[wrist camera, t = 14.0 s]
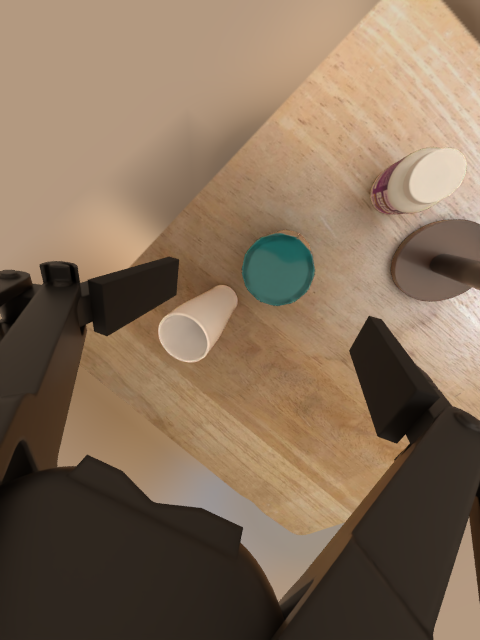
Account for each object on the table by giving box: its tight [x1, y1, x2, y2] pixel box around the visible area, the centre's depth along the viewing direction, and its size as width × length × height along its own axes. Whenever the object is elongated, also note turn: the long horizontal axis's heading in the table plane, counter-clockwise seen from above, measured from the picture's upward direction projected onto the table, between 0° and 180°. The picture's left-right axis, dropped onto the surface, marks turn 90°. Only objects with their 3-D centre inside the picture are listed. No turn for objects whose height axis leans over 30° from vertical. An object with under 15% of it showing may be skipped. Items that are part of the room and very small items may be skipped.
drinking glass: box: [158, 285, 238, 362], centre depth 32 cm, size 7×7×15 cm
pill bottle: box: [371, 147, 467, 214], centre depth 22 cm, size 5×5×10 cm
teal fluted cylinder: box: [242, 229, 315, 306], centre depth 29 cm, size 8×8×10 cm
